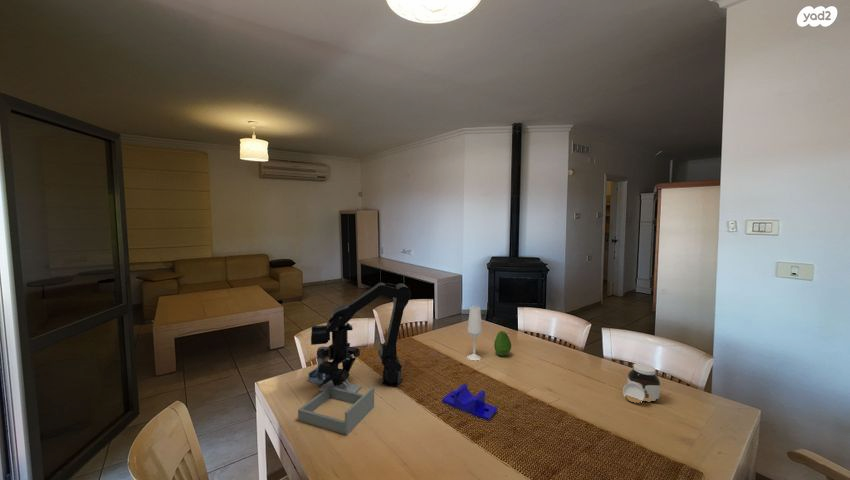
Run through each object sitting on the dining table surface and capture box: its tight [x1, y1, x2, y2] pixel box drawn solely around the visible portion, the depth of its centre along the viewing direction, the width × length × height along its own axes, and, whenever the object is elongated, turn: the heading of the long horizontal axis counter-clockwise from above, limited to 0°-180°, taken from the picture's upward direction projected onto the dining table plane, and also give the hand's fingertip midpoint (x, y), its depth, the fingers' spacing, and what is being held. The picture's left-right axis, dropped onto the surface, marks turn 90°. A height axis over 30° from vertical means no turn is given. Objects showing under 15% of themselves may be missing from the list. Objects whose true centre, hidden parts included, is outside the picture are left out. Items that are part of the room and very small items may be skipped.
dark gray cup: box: [317, 345, 328, 380], centre depth 132 cm, size 4×4×12 cm
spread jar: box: [622, 362, 661, 403], centre depth 121 cm, size 12×11×12 cm
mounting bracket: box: [441, 383, 499, 422], centre depth 115 cm, size 18×7×6 cm, turn 54°
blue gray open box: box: [307, 366, 329, 386], centre depth 133 cm, size 8×7×4 cm
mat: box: [317, 380, 362, 393], centre depth 125 cm, size 14×8×1 cm, turn 69°
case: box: [297, 386, 375, 436], centre depth 110 cm, size 19×16×7 cm
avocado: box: [493, 330, 512, 357], centre depth 157 cm, size 8×8×12 cm
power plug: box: [317, 367, 351, 388], centre depth 125 cm, size 6×8×12 cm
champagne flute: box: [466, 305, 483, 362], centre depth 154 cm, size 7×7×24 cm
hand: (340, 381), depth 125 cm, fingers closed on power plug, 6 cm apart
